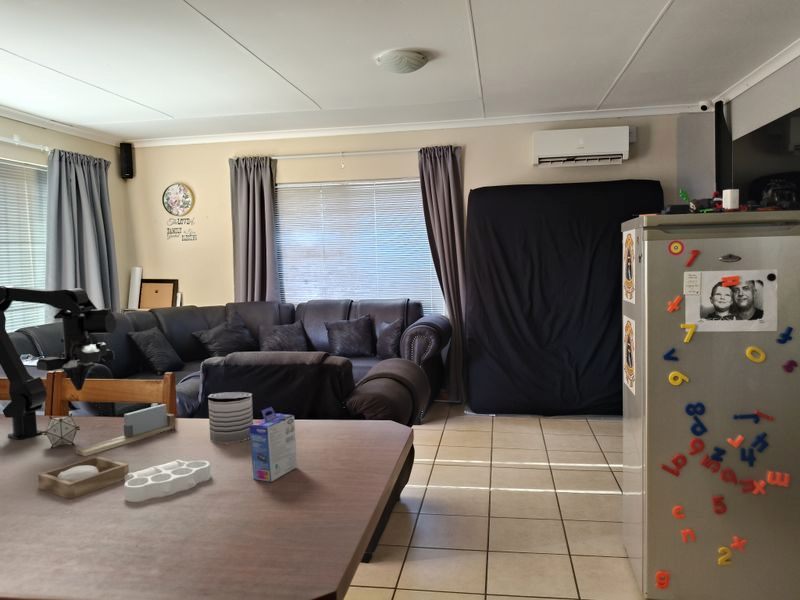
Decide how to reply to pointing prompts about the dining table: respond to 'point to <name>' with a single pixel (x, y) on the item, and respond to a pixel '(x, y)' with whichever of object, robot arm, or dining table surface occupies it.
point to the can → (230, 416)
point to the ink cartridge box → (273, 446)
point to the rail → (125, 439)
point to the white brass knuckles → (165, 479)
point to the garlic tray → (108, 475)
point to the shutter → (145, 420)
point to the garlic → (78, 473)
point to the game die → (61, 430)
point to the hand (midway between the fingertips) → (79, 390)
